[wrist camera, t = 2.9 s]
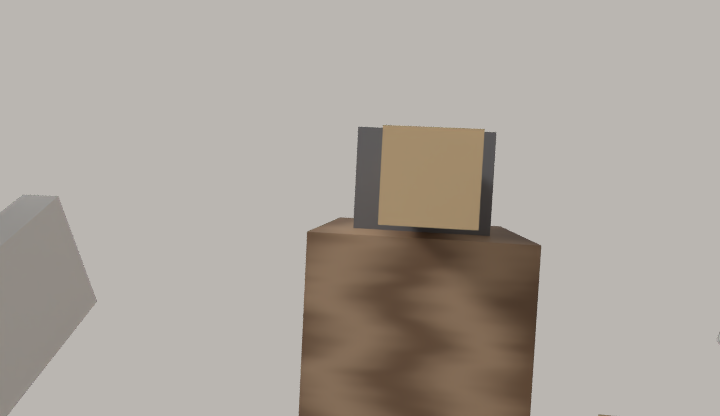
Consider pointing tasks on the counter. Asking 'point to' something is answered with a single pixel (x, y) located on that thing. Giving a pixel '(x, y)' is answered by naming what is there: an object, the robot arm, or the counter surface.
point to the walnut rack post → (418, 323)
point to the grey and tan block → (424, 179)
